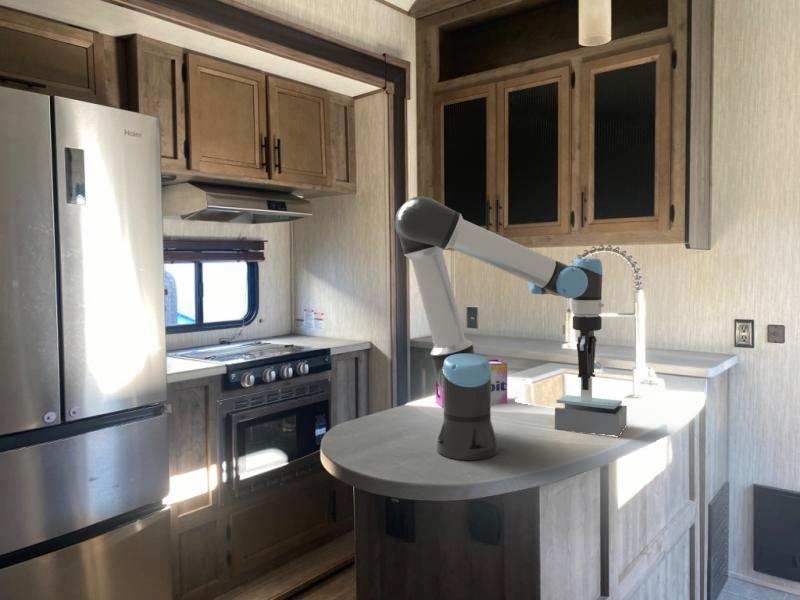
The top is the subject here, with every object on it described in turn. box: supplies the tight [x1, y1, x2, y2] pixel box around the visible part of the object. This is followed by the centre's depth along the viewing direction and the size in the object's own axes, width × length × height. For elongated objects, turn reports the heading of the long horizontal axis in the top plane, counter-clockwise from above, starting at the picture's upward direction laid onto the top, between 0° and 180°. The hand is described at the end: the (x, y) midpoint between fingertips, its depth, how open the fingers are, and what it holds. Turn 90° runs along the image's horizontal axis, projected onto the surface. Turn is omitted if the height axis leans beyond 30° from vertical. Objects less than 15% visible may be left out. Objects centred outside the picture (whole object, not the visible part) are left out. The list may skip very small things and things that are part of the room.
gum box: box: [435, 359, 508, 408], centre depth 199 cm, size 24×8×14 cm, turn 103°
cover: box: [555, 394, 623, 409], centre depth 169 cm, size 12×15×1 cm
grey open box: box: [554, 404, 628, 436], centre depth 168 cm, size 12×17×6 cm
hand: (586, 400), depth 165 cm, fingers closed
